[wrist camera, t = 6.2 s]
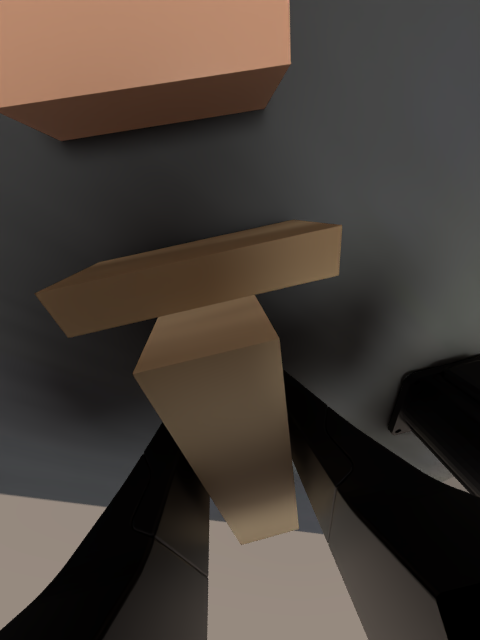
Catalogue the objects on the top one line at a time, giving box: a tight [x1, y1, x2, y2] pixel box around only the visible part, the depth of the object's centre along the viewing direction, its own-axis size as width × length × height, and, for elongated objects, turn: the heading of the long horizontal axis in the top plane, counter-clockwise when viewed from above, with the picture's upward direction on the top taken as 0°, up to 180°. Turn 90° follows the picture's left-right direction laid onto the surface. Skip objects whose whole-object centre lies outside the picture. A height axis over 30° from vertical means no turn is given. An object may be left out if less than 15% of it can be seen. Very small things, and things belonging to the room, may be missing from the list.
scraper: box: [35, 220, 342, 545], centre depth 8 cm, size 11×7×5 cm, turn 11°
